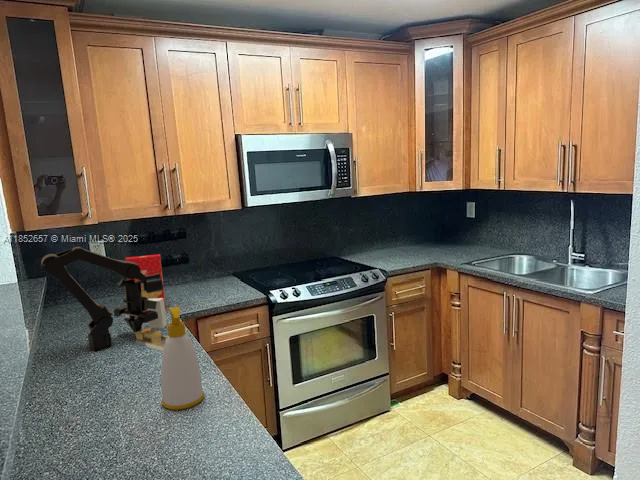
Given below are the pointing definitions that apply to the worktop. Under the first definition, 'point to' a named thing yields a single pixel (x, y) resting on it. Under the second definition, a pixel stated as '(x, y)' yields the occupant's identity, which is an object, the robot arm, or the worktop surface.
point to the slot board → (152, 345)
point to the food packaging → (149, 272)
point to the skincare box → (161, 314)
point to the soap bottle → (180, 367)
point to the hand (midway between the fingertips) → (138, 335)
